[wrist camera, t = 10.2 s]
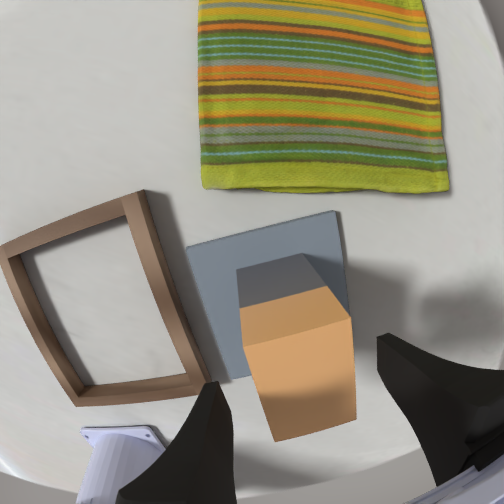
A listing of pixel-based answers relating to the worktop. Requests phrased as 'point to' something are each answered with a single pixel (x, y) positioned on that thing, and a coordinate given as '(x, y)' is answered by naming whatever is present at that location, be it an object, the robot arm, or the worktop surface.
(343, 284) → the mat
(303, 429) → the orange grey tall block
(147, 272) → the frame
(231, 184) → the dish towel
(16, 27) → the worktop surface
